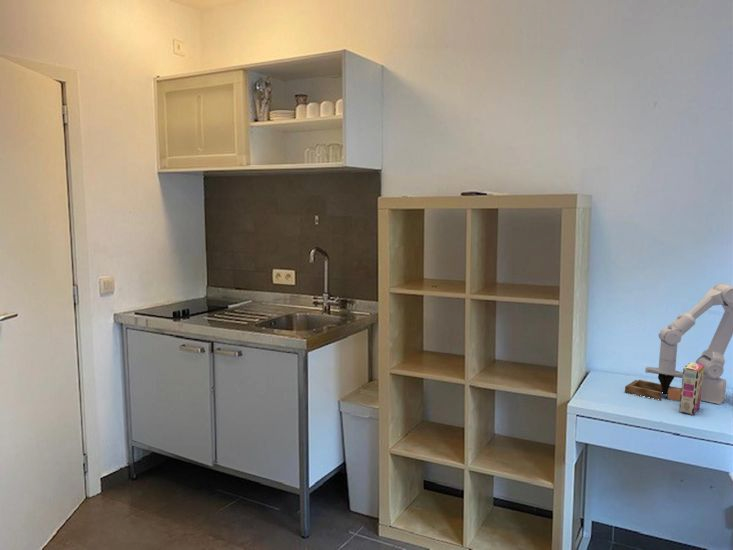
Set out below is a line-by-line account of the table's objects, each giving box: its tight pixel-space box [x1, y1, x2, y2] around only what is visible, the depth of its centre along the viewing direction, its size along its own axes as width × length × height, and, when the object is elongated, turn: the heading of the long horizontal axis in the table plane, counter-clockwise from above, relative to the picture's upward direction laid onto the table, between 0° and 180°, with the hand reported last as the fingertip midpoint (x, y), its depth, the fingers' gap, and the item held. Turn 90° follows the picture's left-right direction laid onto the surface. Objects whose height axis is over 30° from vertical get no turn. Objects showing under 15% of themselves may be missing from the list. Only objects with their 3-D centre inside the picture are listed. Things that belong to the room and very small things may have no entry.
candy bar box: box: [678, 361, 704, 416], centre depth 213 cm, size 11×5×16 cm, turn 141°
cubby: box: [624, 379, 671, 401], centre depth 231 cm, size 13×11×3 cm
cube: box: [667, 385, 682, 402], centre depth 225 cm, size 4×4×4 cm
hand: (664, 393), depth 227 cm, fingers closed
